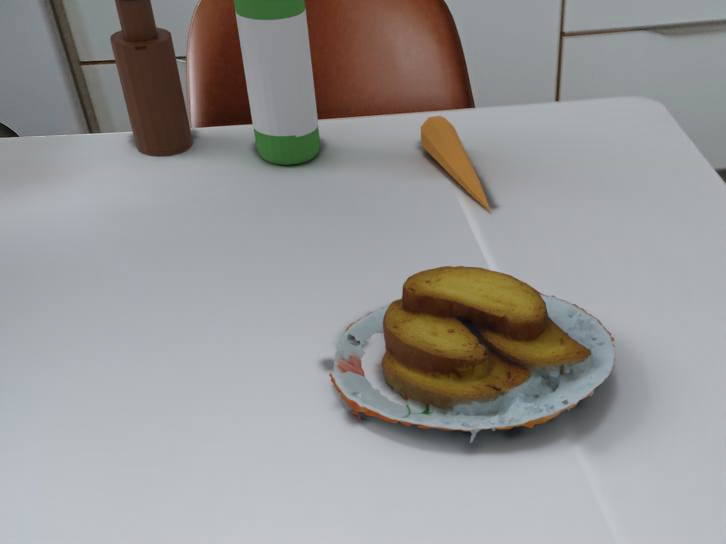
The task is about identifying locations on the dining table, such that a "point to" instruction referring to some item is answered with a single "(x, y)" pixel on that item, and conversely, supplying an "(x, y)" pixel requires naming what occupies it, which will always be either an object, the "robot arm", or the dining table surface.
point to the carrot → (451, 155)
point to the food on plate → (475, 353)
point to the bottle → (150, 81)
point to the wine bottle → (279, 78)
